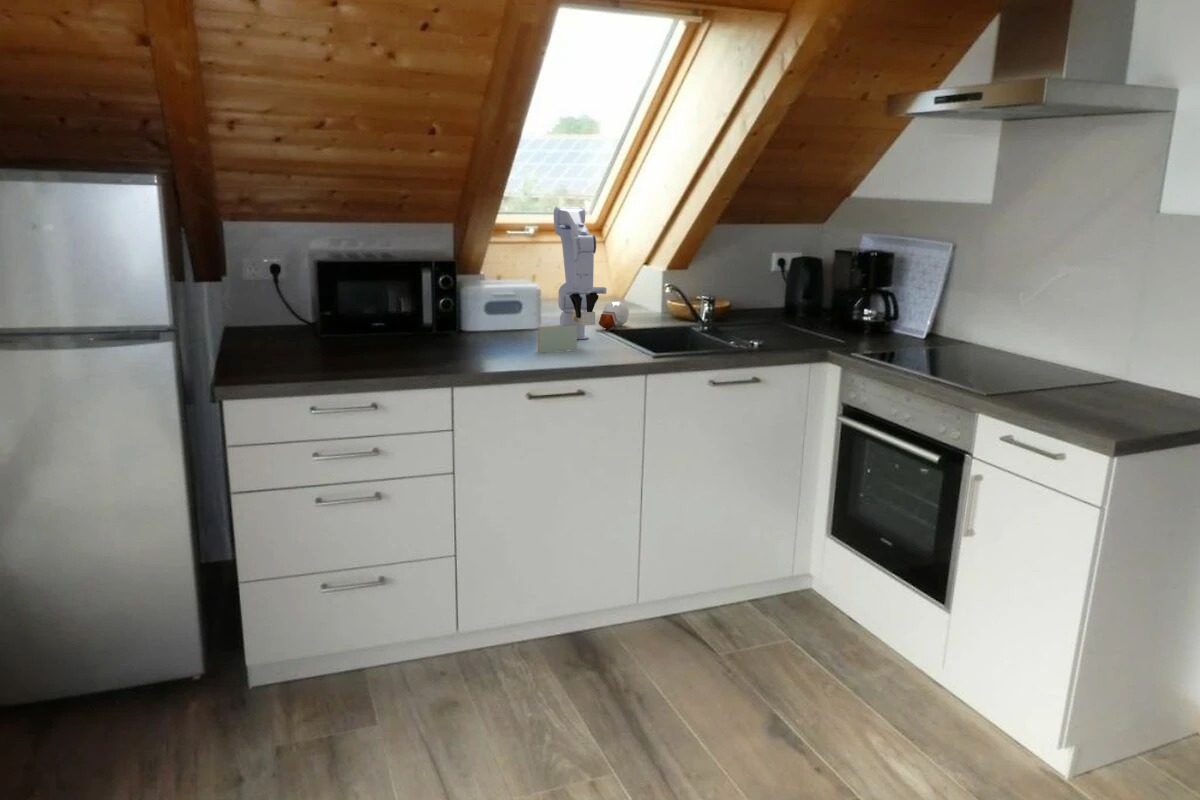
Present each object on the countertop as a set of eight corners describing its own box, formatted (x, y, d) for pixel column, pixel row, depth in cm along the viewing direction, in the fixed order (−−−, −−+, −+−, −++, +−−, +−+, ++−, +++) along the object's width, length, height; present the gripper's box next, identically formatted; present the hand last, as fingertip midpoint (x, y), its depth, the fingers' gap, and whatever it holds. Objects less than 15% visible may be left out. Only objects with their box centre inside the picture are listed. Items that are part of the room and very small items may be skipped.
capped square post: (570, 319, 283) (570, 307, 282) (581, 319, 284) (582, 306, 283) (583, 325, 273) (583, 312, 272) (594, 324, 275) (595, 311, 274)
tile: (538, 352, 270) (538, 326, 268) (574, 349, 275) (574, 324, 273) (540, 353, 269) (540, 327, 267) (576, 350, 273) (576, 325, 271)
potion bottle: (623, 327, 322) (610, 339, 309) (602, 311, 322) (589, 322, 309) (637, 309, 318) (625, 320, 304) (616, 292, 318) (603, 302, 305)
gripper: (567, 276, 268) (566, 320, 271) (610, 275, 273) (609, 318, 277) (559, 273, 274) (558, 316, 277) (601, 272, 280) (600, 314, 283)
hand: (583, 317), depth 278 cm, fingers closed on capped square post, 3 cm apart
